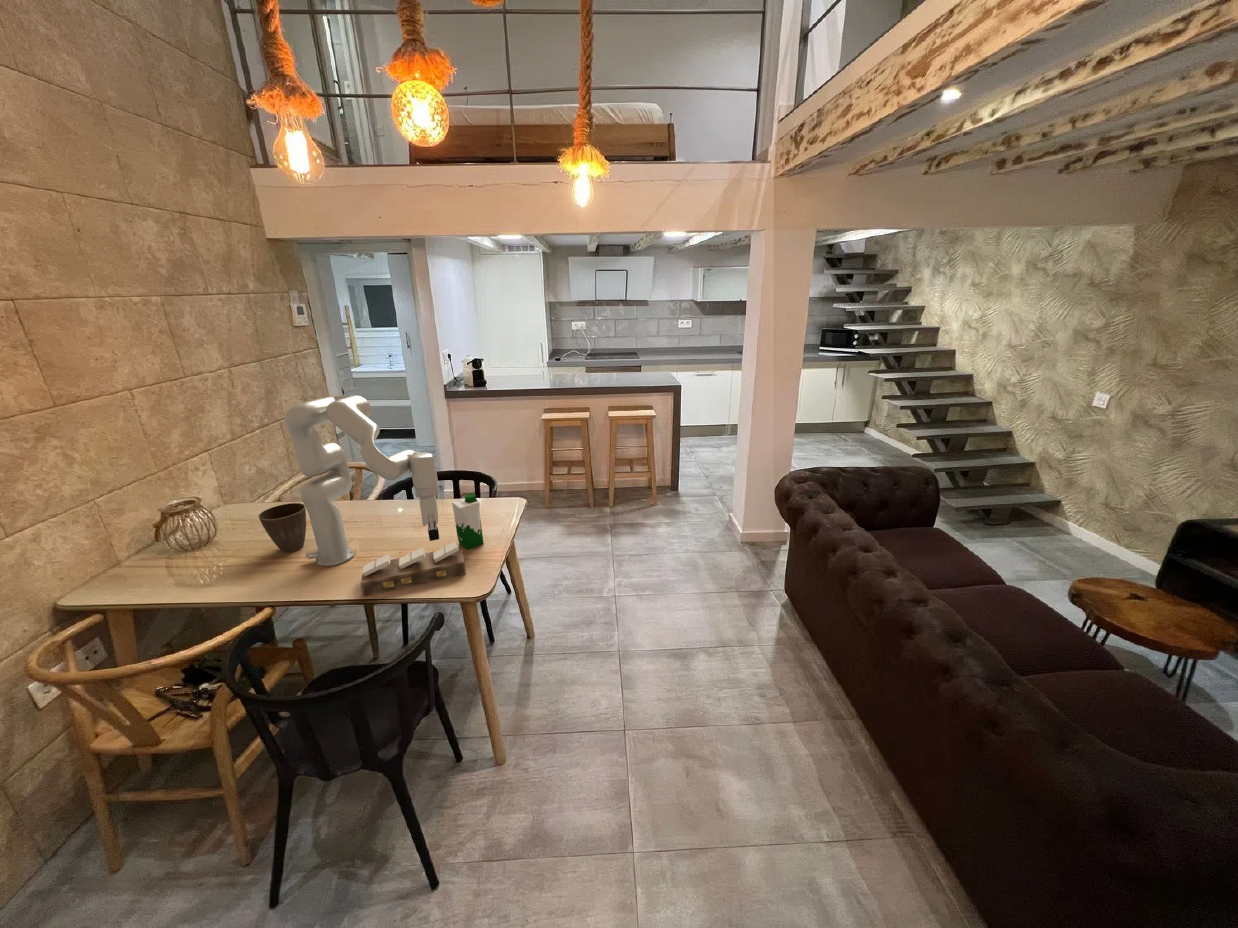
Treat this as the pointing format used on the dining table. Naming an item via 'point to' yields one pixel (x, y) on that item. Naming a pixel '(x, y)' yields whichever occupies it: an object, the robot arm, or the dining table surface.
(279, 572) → the dining table surface
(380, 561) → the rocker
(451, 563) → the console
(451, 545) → the rocker
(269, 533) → the plant pot
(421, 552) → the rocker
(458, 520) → the milk carton
